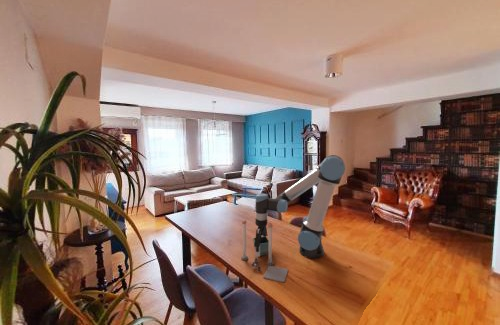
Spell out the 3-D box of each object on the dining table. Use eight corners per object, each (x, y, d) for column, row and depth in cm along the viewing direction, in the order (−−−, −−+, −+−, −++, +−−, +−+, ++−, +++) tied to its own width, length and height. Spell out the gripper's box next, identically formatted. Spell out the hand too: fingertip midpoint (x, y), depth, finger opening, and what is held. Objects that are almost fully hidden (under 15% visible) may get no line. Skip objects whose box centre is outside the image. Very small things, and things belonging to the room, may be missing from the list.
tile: (268, 266, 123) (268, 265, 123) (288, 270, 119) (288, 269, 119) (263, 278, 112) (263, 277, 112) (284, 282, 109) (284, 281, 109)
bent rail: (255, 261, 128) (255, 256, 127) (264, 263, 126) (264, 258, 125) (250, 269, 120) (250, 264, 119) (259, 271, 118) (259, 266, 118)
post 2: (267, 261, 128) (267, 221, 125) (274, 262, 127) (274, 222, 124) (265, 264, 124) (266, 224, 122) (272, 266, 123) (272, 225, 120)
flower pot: (256, 258, 131) (256, 244, 130) (252, 251, 140) (252, 238, 139) (270, 256, 134) (270, 242, 133) (265, 249, 142) (265, 236, 141)
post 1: (242, 256, 133) (242, 218, 131) (248, 257, 132) (248, 219, 129) (240, 259, 130) (239, 220, 127) (246, 261, 128) (246, 221, 126)
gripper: (261, 211, 147) (261, 240, 149) (249, 225, 124) (248, 259, 126) (272, 212, 145) (271, 242, 147) (261, 227, 121) (261, 262, 124)
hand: (261, 250), depth 136 cm, fingers open, 13 cm apart
